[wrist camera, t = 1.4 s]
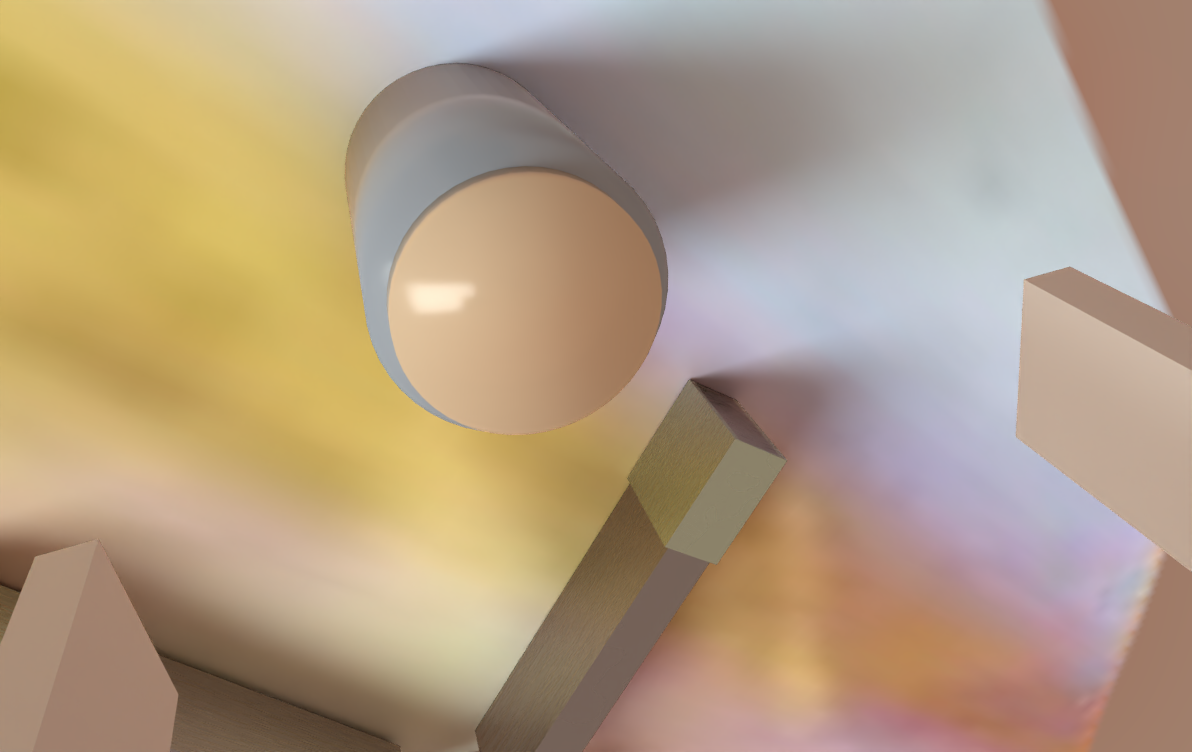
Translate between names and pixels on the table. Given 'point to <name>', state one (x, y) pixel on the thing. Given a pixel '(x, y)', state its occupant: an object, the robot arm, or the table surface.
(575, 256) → the spice jar
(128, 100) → the table surface
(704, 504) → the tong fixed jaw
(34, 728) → the robot arm
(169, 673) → the block
